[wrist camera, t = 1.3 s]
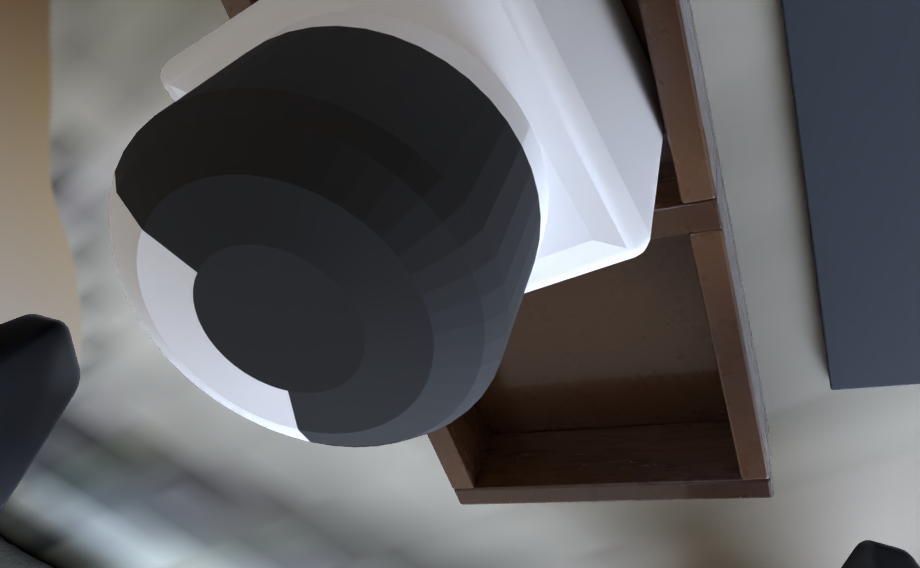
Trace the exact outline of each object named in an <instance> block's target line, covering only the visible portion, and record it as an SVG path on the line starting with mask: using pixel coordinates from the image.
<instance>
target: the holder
mask: <svg viewBox="0 0 920 568" xmlns="http://www.w3.org/2000/svg"><path fill="white" fill-rule="evenodd" d="M221 1H222V3H223V5H224V7H225V9H226V11H227V14H228V16H229V18H230V19H231V18H233V17H234V16H236V15H237V14H239V13H240V12H242V11H244V10H245V9H247V8H248V7H250V6H251V5H253V4H254V3H256V2H257V1H259V0H221ZM621 2H622V4H623V6H624V8H625V11H626V13H627V15H628V17H629V19H630V22H631V24H632V26H633V28H634V31H635V33H636V35H637V37H638V39H639V42H640V44H641V46H642V48H643V50H644V53H645V55H646V57H647V59H648V61H649V64H650V66H651V68H652V70H653V73H654V78H655V82H656V87H657V92H658V96H659V101H660V105H661V110H662V115H663V119H664V132H663V140H662V148H661V156H660V164H659V172H658V180H657V188H656V196H655V204H654V212H653V220H652V228H651V236H650V241H649V243H648V245H647V247H646V249H645V250H644V252H643V253H641V254H639V255H638V256H636V257H634V258H631V259H628V260H625V261H622V262H618V263H615V264H612V265H609V266H606V267H603V268H600V269H597V270H594V271H591V272H588V273H585V274H582V275H579V276H576V277H572V278H569V279H566V280H563V281H560V282H557V283H554V284H551V285H548V286H545V287H542V288H539V289H536V290H533V291H530V292H526V293H524V295H523V298H522V301H521V304H520V307H519V310H518V313H517V316H516V319H515V322H514V325H513V328H512V331H511V334H510V337H509V340H508V343H507V346H506V349H505V352H504V355H503V358H502V360H501V362H500V365H499V367H498V370H497V372H496V375H495V377H494V379H493V380H492V382H491V383H490V385H489V386H488V388H487V389H486V391H485V392H484V394H483V395H482V397H481V398H480V399H479V400H478V401H477V402H476V403H475V404H474V405H473V406H472V407H471V408H470V409H469V410H468V411H467V412H465V413H464V414H462V415H461V416H460V417H458V418H457V419H456V420H454V421H453V422H451V423H450V424H448V425H446V426H444V427H441V428H439V429H437V430H435V431H433V432H431V433H428V434H427V435H428V437H429V439H430V441H431V443H432V445H433V447H434V449H435V452H436V454H437V456H438V458H439V460H440V462H441V464H442V466H443V468H444V470H445V473H446V475H447V477H448V479H449V481H450V483H451V485H452V487H453V489H454V490H455V493H456V495H457V497H458V499H459V501H460V503H461V504H463V505H464V504H508V503H553V502H598V501H643V500H687V499H732V498H771V497H773V494H774V493H773V480H772V467H771V454H770V441H769V427H768V421H767V416H766V410H765V405H764V400H763V394H762V389H761V383H760V378H759V372H758V367H757V362H756V356H755V351H754V345H753V340H752V334H751V329H750V323H749V318H748V313H747V307H746V302H745V296H744V291H743V285H742V280H741V275H740V269H739V264H738V258H737V253H736V247H735V242H734V237H733V231H732V226H731V220H730V215H729V209H728V204H727V199H726V193H725V188H724V182H723V177H722V171H721V166H720V161H719V155H718V150H717V144H716V139H715V133H714V128H713V123H712V117H711V112H710V106H709V101H708V95H707V90H706V85H705V79H704V74H703V68H702V63H701V57H700V52H699V47H698V41H697V36H696V30H695V25H694V19H693V14H692V9H691V3H690V0H621Z"/></svg>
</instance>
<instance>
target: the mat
mask: <svg viewBox="0 0 920 568" xmlns="http://www.w3.org/2000/svg"><path fill="white" fill-rule="evenodd" d="M781 4H782V12H783V19H784V27H785V35H786V43H787V51H788V59H789V67H790V74H791V82H792V90H793V98H794V106H795V114H796V121H797V129H798V137H799V145H800V153H801V161H802V168H803V176H804V184H805V192H806V200H807V208H808V215H809V223H810V231H811V239H812V247H813V255H814V262H815V270H816V278H817V286H818V294H819V302H820V309H821V317H822V325H823V333H824V341H825V349H826V356H827V364H828V372H829V380H830V386H831V389H832V390H840V389H854V388H868V387H882V386H896V385H910V384H920V0H781Z"/></svg>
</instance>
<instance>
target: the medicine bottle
mask: <svg viewBox="0 0 920 568" xmlns="http://www.w3.org/2000/svg"><path fill="white" fill-rule="evenodd" d="M160 79H161V82H162V84H163V86H164V88H165V89H166V91H167V92H168V93H169V95H170V96H171V97H172V99H173V100H174V101H175V102H174V103H173V104H171V105H170V106H168V107H167V108H165V109H164V110H162V111H161V112H160V113H158V114H157V115H155V116H154V117H153V118H152V119H151V120H150V121H149V122H147V123H146V124H145V125H144V126H143V127H142V128H141V129H140V130H139V131H138V132H137V133H136V134H135V136H134V137H133V139H132V140H131V142H130V143H129V144H128V146H127V147H126V149H125V150H124V152H123V154H122V156H121V159H120V161H119V163H118V165H117V168H116V170H115V173H114V177H113V182H112V186H111V190H110V198H109V225H110V234H111V244H112V252H113V258H114V262H115V266H116V270H117V274H118V278H119V280H120V283H121V285H122V288H123V290H124V293H125V295H126V298H127V300H128V302H129V304H130V305H131V307H132V309H133V311H134V313H135V315H136V317H137V319H138V320H139V322H140V323H141V325H142V326H143V328H144V329H145V330H146V332H147V333H148V335H149V336H150V338H151V339H152V341H153V342H154V343H155V344H156V345H157V347H158V348H159V349H160V350H161V351H162V353H163V354H164V355H165V356H166V357H167V358H168V359H169V360H170V361H171V362H172V363H173V364H174V365H175V366H176V367H177V368H178V369H179V370H180V371H181V372H182V373H183V374H184V375H185V376H186V377H187V378H188V379H189V380H191V381H192V382H193V383H194V384H195V385H197V386H198V387H199V388H200V389H201V390H203V391H204V392H205V393H207V394H208V395H210V396H211V397H212V398H214V399H215V400H217V401H218V402H219V403H221V404H222V405H224V406H226V407H227V408H229V409H231V410H232V411H234V412H236V413H238V414H239V415H241V416H243V417H244V418H247V419H249V420H251V421H253V422H255V423H257V424H259V425H261V426H263V427H266V428H268V429H271V430H274V431H276V432H279V433H282V434H284V435H287V436H290V437H294V438H298V439H301V440H305V441H309V442H314V443H319V444H325V445H331V446H344V447H369V446H380V445H386V444H392V443H397V442H401V441H405V440H409V439H412V438H415V437H419V436H422V435H425V434H428V433H431V432H433V431H435V430H437V429H439V428H441V427H444V426H446V425H448V424H450V423H451V422H453V421H454V420H456V419H457V418H458V417H460V416H461V415H462V414H464V413H465V412H467V411H468V410H469V409H470V408H471V407H472V406H473V405H474V404H475V403H476V402H477V401H478V400H479V399H480V398H481V397H482V395H483V394H484V392H485V391H486V389H487V388H488V386H489V385H490V383H491V382H492V380H493V379H494V377H495V375H496V372H497V370H498V367H499V365H500V362H501V360H502V358H503V355H504V352H505V349H506V346H507V343H508V340H509V337H510V334H511V331H512V328H513V325H514V322H515V319H516V316H517V313H518V310H519V307H520V304H521V301H522V298H523V295H524V293H526V292H530V291H533V290H536V289H539V288H542V287H545V286H548V285H551V284H554V283H557V282H560V281H563V280H566V279H569V278H572V277H576V276H579V275H582V274H585V273H588V272H591V271H594V270H597V269H600V268H603V267H606V266H609V265H612V264H615V263H618V262H622V261H625V260H628V259H631V258H634V257H636V256H638V255H639V254H641V253H643V252H644V250H645V249H646V247H647V245H648V243H649V241H650V236H651V228H652V220H653V212H654V204H655V196H656V188H657V180H658V172H659V164H660V156H661V148H662V140H663V132H664V119H663V115H662V110H661V105H660V101H659V96H658V92H657V87H656V82H655V78H654V73H653V70H652V68H651V66H650V64H649V61H648V59H647V57H646V55H645V53H644V50H643V48H642V46H641V44H640V42H639V39H638V37H637V35H636V33H635V31H634V28H633V26H632V24H631V22H630V19H629V17H628V15H627V13H626V11H625V8H624V6H623V4H622V2H621V0H259V1H257V2H256V3H254V4H253V5H251V6H250V7H248V8H247V9H245V10H244V11H242V12H240V13H239V14H237V15H236V16H234V17H233V18H231V19H230V20H228V21H227V22H225V23H224V24H222V25H221V26H219V27H218V28H216V29H215V30H213V31H212V32H210V33H209V34H207V35H205V36H204V37H202V38H201V39H199V40H198V41H196V42H195V43H193V44H192V45H190V46H189V47H187V48H186V49H184V50H183V51H181V52H180V53H178V54H177V55H175V56H174V57H172V58H171V59H169V60H168V61H167V62H166V64H165V65H164V67H163V68H162V70H161V71H160Z"/></svg>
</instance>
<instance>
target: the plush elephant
mask: <svg viewBox="0 0 920 568" xmlns="http://www.w3.org/2000/svg"><path fill="white" fill-rule="evenodd" d="M0 568H53V567H52V566H49V565H47V564H45V563H44V562H42V561H39V560H37V559H35V558H34V557H32V556H30V555H28V554H27V553H25V552H23V551H21V550H19V549H18V548H17V547H16V546H14V545H11V544H9V543H7V542H6V541H5V540H4V539H3V538H1V537H0Z"/></svg>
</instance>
